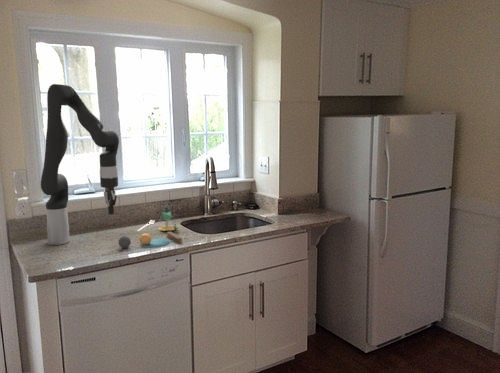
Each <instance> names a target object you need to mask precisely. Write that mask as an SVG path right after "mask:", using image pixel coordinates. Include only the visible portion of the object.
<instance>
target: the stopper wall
mask: <svg viewBox="0 0 500 373" xmlns="http://www.w3.org/2000/svg"><path fill="white" fill-rule="evenodd" d="M166 237H167V238H168V239H169V240H171V241H173V242H175V243H176V244H178V245H180V244H183V238H182V237H181V236H179V235H177V233H175V232H173V231H166Z"/></svg>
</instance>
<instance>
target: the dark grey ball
mask: <svg viewBox="0 0 500 373" xmlns="http://www.w3.org/2000/svg"><path fill="white" fill-rule="evenodd" d="M131 243H132V240H131V238H130V237H129V236H126V235H123V236H121V237H120V238H119V239H118V245H119V247H121V248H122V249H127V248H129V247H130V245H131Z"/></svg>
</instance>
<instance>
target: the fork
mask: <svg viewBox="0 0 500 373" xmlns="http://www.w3.org/2000/svg"><path fill="white" fill-rule="evenodd" d="M148 223H149V224H148ZM148 223H146V224H145V225H143V226H141V227H140V228H139V229H137V230H136V232H140V231H141V230H143V229H144V228H146V227H148V226H152V225H153V224H155V219H153V220H152V219H150V221H149V222H148Z"/></svg>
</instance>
